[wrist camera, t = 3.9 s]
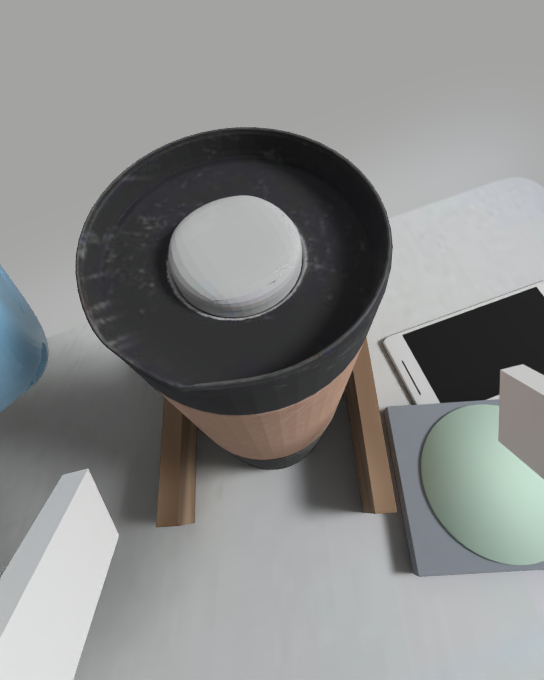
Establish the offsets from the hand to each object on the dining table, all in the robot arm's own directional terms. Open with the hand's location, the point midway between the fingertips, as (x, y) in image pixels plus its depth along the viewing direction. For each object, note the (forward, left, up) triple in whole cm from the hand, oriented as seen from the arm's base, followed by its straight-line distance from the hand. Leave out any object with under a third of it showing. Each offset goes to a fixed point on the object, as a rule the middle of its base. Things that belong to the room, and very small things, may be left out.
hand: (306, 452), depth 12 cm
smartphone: (+16, +9, -15) cm, 23 cm away
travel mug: (-2, +4, -15) cm, 15 cm away
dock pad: (+12, -1, -15) cm, 19 cm away
